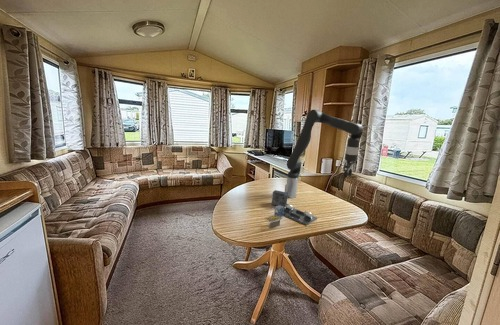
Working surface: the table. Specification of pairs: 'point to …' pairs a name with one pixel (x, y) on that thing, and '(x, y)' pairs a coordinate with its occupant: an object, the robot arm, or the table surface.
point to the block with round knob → (279, 211)
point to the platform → (274, 221)
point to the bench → (298, 215)
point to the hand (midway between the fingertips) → (347, 176)
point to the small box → (279, 198)
